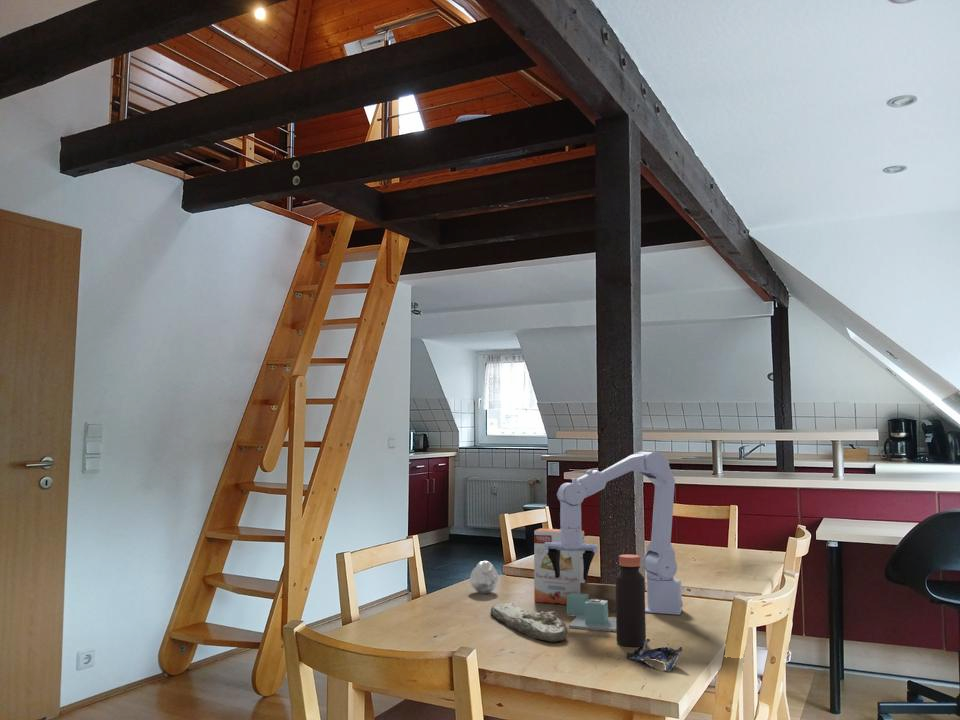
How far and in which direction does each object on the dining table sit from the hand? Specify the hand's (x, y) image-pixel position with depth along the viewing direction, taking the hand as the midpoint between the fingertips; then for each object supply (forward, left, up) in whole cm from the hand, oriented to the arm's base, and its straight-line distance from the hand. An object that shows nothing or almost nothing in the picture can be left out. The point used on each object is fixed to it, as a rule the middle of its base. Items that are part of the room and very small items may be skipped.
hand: (571, 578), depth 202 cm
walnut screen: (-7, -10, -10) cm, 15 cm away
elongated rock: (+8, +15, -10) cm, 20 cm away
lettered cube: (-8, +7, -9) cm, 14 cm away
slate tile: (-8, +7, -10) cm, 15 cm away
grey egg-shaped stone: (+32, -20, -10) cm, 39 cm away
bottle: (-19, +22, -10) cm, 31 cm away
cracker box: (+7, -15, -10) cm, 19 cm away
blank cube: (-1, -3, -10) cm, 10 cm away
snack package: (-26, +36, -11) cm, 45 cm away
